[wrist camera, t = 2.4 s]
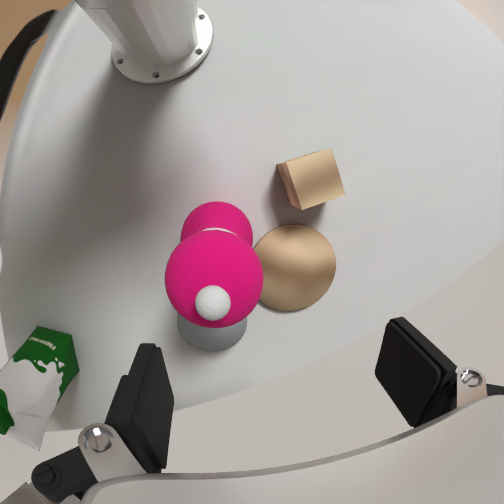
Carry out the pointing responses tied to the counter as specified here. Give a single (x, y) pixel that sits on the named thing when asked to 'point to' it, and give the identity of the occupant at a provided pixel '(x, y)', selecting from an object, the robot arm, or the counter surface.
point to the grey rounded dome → (211, 334)
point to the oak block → (311, 179)
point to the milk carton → (35, 384)
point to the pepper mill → (214, 267)
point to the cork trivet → (295, 266)
